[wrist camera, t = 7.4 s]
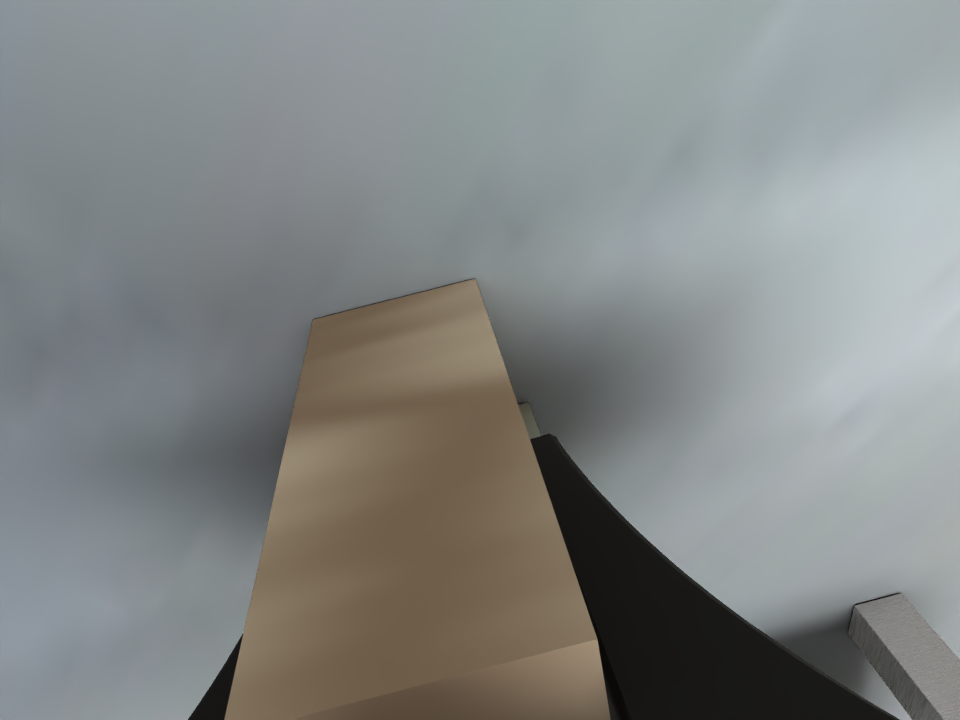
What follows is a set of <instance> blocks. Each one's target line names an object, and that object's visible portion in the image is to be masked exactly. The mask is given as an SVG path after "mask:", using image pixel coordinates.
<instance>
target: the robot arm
mask: <svg viewBox="0 0 960 720" xmlns="http://www.w3.org/2000/svg"><path fill="white" fill-rule="evenodd" d="M530 441H531V444H532V447H533V450H534V453H535V456H536V459H537V462H538V465H539V468H540V471H541V474H542V477H543V480H544V483H545V486H546V489H547V492H548V495H549V498H550V500H551V503H552V506H553V509H554V512H555V515H556V518H557V521H558V524H559V527H560V530H561V533H562V536H563V539H564V542H565V545H566V548H567V551H568V554H569V557H570V560H571V563H572V566H573V569H574V572H575V574H576V577H577V580H578V583H579V586H580V589H581V592H582V595H583V598H584V601H585V604H586V607H587V610H588V613H589V616H590V619H591V622H592V625H593V628H594V631H595V634H596V637H597V640H598V646H599V652H600V658H601V664H602V670H603V676H604V682H605V688H606V694H607V700H608V706H609V713H610V719H611V720H899V719H898V718H896V717H894V716H892V715H891V714H889V713H887V712H886V711H884V710H882V709H881V708H879V707H877V706H875V705H874V704H872V703H870V702H869V701H867V700H866V699H864V698H862V697H861V696H859V695H858V694H856V693H854V692H853V691H851V690H850V689H848V688H846V687H845V686H843V685H842V684H840V683H838V682H837V681H835V680H833V679H832V678H830V677H829V676H827V675H825V674H824V673H822V672H821V671H819V670H818V669H816V668H815V667H813V666H812V665H810V664H809V663H807V662H806V661H804V660H803V659H801V658H800V657H798V656H797V655H796V654H794V653H793V652H791V651H790V650H788V649H787V648H785V647H784V646H782V645H781V644H779V643H778V642H776V641H775V640H773V639H772V638H770V637H769V636H768V635H766V634H765V633H763V632H762V631H760V630H759V629H757V628H756V627H754V626H753V625H751V624H750V623H749V622H747V621H746V620H745V619H743V618H742V617H741V616H739V615H738V614H737V613H735V612H734V611H733V610H731V609H730V608H729V607H727V606H726V605H725V604H723V603H722V602H721V601H719V600H718V599H717V598H715V597H714V596H713V595H711V594H710V593H709V592H708V591H706V590H705V589H704V588H703V587H701V586H700V585H699V584H698V583H697V582H695V581H694V580H693V579H692V578H690V577H689V576H688V575H687V574H685V573H684V572H683V571H682V570H681V569H680V568H678V567H677V566H676V565H675V564H674V563H673V562H671V561H670V560H669V559H668V558H667V557H666V556H664V555H663V554H662V553H661V552H660V551H659V550H658V549H657V548H656V547H655V546H653V545H652V544H651V543H650V542H649V541H648V540H647V539H646V538H645V537H644V536H643V535H641V534H640V533H639V532H638V531H637V530H636V529H635V528H634V527H633V526H632V525H631V524H630V523H629V522H628V521H627V520H626V519H625V518H624V517H623V516H622V515H621V514H620V513H619V512H618V511H617V510H616V509H615V508H614V507H613V506H612V505H611V503H610V502H609V501H608V500H607V499H606V498H605V497H604V496H603V495H602V494H601V493H600V492H599V491H598V490H597V489H596V488H595V486H594V485H593V484H592V483H591V482H590V481H589V480H588V478H587V477H586V476H585V475H584V474H583V473H582V471H581V470H580V469H579V468H578V467H577V465H576V464H575V463H574V462H573V460H572V459H571V458H570V456H569V455H568V454H567V452H566V451H565V450H564V448H563V447H562V445H561V444H560V442H559V441H558V439H557V437H555V436H553V435H551V434H547V435H543V436H540V437H536V438H532V439H530ZM242 638H243V634H242V636H241V638H240V639H239V641H238V643H237V644H236V646H235V648H234V650H233V651H232V653H231V655H230V656H229V658H228V660H227V661H226V663H225V664H224V666H223V668H222V669H221V671H220V672H219V674H218V675H217V677H216V679H215V680H214V682H213V683H212V685H211V686H210V688H209V689H208V691H207V692H206V694H205V695H204V697H203V698H202V700H201V702H200V703H199V704H198V706H197V707H196V709H195V710H194V712H193V713H192V715H191V716H190V717H189V719H188V720H224V719H225V715H226V710H227V706H228V701H229V697H230V692H231V687H232V683H233V678H234V674H235V669H236V665H237V660H238V656H239V651H240V647H241V642H242Z"/></svg>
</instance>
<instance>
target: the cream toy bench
mask: <svg viewBox="0 0 960 720" xmlns="http://www.w3.org/2000/svg"><path fill="white" fill-rule="evenodd" d="M848 634H849V635H850V636H851V638H852V639H853V640H854V642H855V643H856V644H857V646H858V647H859V648H860V650H861V651H862V652H863V654H864V655H865V657H866V658H867V659H868V661H869V662H870V663H871V665H872V666H873V667H874V669H875V670H876V671H877V673H878V674H879V675H880V677H881V678H882V680H883V681H884V682H885V684H886V685H887V686H888V688H889V689H890V690H891V692H892V693H893V694H894V696H895V697H896V698H897V700H898V701H899V703H900V704H901V705H902V707H903V708H904V709H905V711H906V712H907V713H908V715H909V716H910V717H911V719H912V720H960V660H959V658H958V657H957V656H956V655H955V654H954V653H953V652H952V650H951V649H950V648H949V647H948V646H947V645H946V644H945V642H944V641H943V640H942V639H941V638H940V637H939V636H938V635H937V633H936V632H935V631H934V630H933V629H932V628H931V627H930V625H929V624H928V623H927V622H926V621H925V620H924V619H923V617H922V616H921V615H920V614H919V613H918V612H917V611H916V610H915V608H914V607H913V606H912V605H911V604H910V603H909V602H908V600H907V599H906V598H905V597H904V596H903V595H902V594H901V593H900V594H897V595H893V596H889V597H885V598H881V599H878V600H874V601H870V602H866V603H863V604H859V605H855V606H854V610H853V614H852V618H851V623H850V627H849V632H848Z"/></svg>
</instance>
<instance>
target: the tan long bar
mask: <svg viewBox="0 0 960 720" xmlns="http://www.w3.org/2000/svg"><path fill="white" fill-rule="evenodd" d="M540 436H541V434H540V432H539V429H538V426H537V423H536V421H535V418H534V415H533V413H532V410H531V407H530V404H529V402H528V403H524V404H520V405H518V403H517V400H516V397H515V394H514V391H513V388H512V385H511V382H510V379H509V376H508V373H507V370H506V367H505V364H504V361H503V358H502V355H501V352H500V350H499V347H498V344H497V341H496V338H495V335H494V332H493V329H492V326H491V323H490V320H489V317H488V314H487V311H486V308H485V305H484V302H483V299H482V296H481V293H480V290H479V287H478V284H477V281H476V279H472V280H468V281H464V282H460V283H456V284H452V285H448V286H444V287H440V288H436V289H433V290H429V291H425V292H421V293H417V294H413V295H409V296H405V297H401V298H397V299H393V300H389V301H385V302H381V303H377V304H373V305H369V306H365V307H361V308H357V309H353V310H349V311H345V312H341V313H337V314H333V315H329V316H325V317H321V318H317V319H314V320H313V322H312V326H311V331H310V335H309V340H308V344H307V349H306V353H305V358H304V362H303V367H302V371H301V376H300V381H299V385H298V390H297V394H296V399H295V403H294V408H293V412H292V417H291V421H290V426H289V430H288V435H287V439H286V444H285V448H284V453H283V457H282V462H281V466H280V471H279V475H278V480H277V484H276V489H275V493H274V498H273V502H272V507H271V511H270V516H269V520H268V525H267V529H266V534H265V539H264V543H263V548H262V552H261V557H260V561H259V566H258V570H257V575H256V579H255V584H254V588H253V593H252V597H251V602H250V606H249V611H248V615H247V620H246V624H245V629H244V633H243V638H242V642H241V647H240V651H239V656H238V660H237V665H236V669H235V674H234V678H233V683H232V687H231V692H230V697H229V701H228V706H227V710H226V715H225V719H224V720H611V719H610V713H609V706H608V700H607V694H606V688H605V682H604V676H603V670H602V664H601V658H600V652H599V646H598V640H597V637H596V634H595V631H594V628H593V625H592V622H591V619H590V616H589V613H588V610H587V607H586V604H585V601H584V598H583V595H582V592H581V589H580V586H579V583H578V580H577V577H576V574H575V572H574V569H573V566H572V563H571V560H570V557H569V554H568V551H567V548H566V545H565V542H564V539H563V536H562V533H561V530H560V527H559V524H558V521H557V518H556V515H555V512H554V509H553V506H552V503H551V500H550V498H549V495H548V492H547V489H546V486H545V483H544V480H543V477H542V474H541V471H540V468H539V465H538V462H537V459H536V456H535V453H534V450H533V447H532V444H531V441H530V439H532V438H536V437H540Z"/></svg>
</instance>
